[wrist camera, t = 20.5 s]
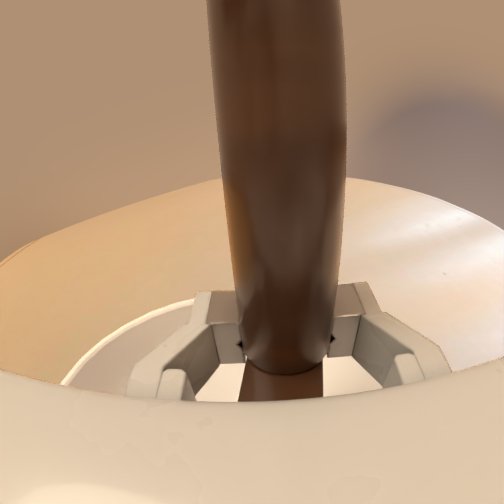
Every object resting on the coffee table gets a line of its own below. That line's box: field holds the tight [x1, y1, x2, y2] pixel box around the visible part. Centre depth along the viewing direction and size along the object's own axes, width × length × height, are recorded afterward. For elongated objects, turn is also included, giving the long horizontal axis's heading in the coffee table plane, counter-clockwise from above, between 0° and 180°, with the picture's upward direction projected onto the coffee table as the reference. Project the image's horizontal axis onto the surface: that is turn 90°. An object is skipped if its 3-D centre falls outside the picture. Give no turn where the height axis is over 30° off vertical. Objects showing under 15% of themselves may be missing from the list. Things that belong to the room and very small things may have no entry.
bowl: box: [60, 298, 383, 402], centre depth 13 cm, size 20×20×7 cm
